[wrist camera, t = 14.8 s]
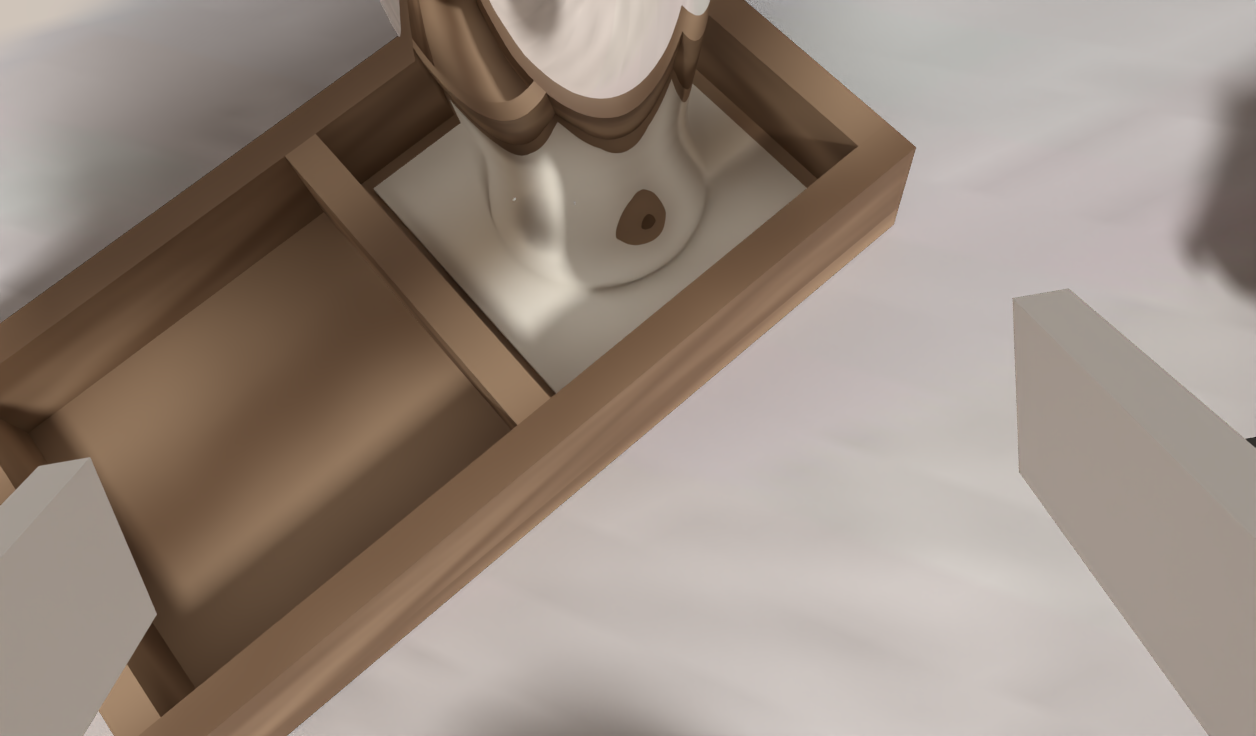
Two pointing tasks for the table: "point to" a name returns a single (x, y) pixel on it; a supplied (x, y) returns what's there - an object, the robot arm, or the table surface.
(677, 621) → the table surface
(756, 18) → the wooden tray
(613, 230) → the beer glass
